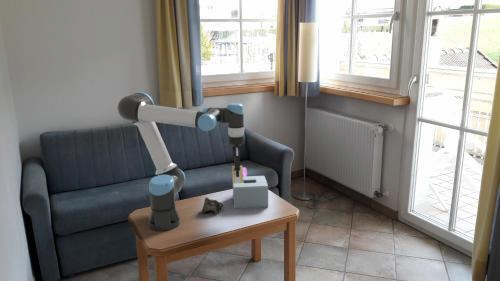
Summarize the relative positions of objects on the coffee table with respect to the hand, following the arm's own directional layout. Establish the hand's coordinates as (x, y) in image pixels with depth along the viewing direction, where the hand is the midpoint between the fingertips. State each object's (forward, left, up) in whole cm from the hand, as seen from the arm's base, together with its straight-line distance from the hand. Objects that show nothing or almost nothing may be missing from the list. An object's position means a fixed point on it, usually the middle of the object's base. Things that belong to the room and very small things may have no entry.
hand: (237, 181), depth 204 cm
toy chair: (+7, +31, -19) cm, 37 cm away
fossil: (-13, +8, -19) cm, 24 cm away
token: (0, 0, 0) cm, 0 cm away
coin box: (+7, +17, -19) cm, 26 cm away
